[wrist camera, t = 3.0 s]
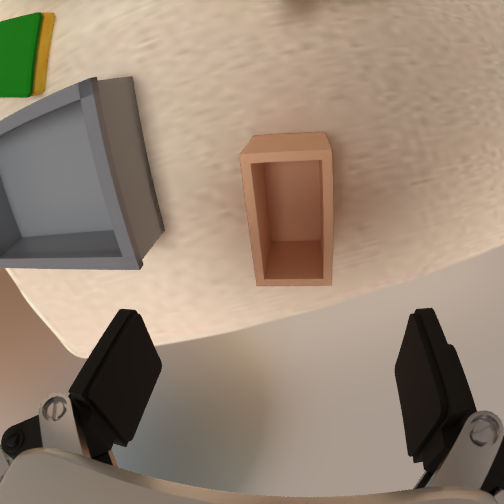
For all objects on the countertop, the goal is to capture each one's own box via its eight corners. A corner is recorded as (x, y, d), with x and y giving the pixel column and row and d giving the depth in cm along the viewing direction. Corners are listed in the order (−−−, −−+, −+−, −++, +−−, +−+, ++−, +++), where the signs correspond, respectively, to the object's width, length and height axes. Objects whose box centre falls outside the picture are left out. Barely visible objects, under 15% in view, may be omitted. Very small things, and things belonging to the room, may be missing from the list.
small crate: (324, 132, 18) (331, 149, 14) (327, 242, 22) (331, 285, 18) (253, 135, 19) (239, 154, 15) (265, 244, 23) (256, 286, 19)
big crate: (134, 73, 18) (90, 77, 13) (167, 232, 24) (139, 269, 20) (-10, 134, 21) (-47, 151, 17) (24, 241, 27) (-6, 267, 23)
